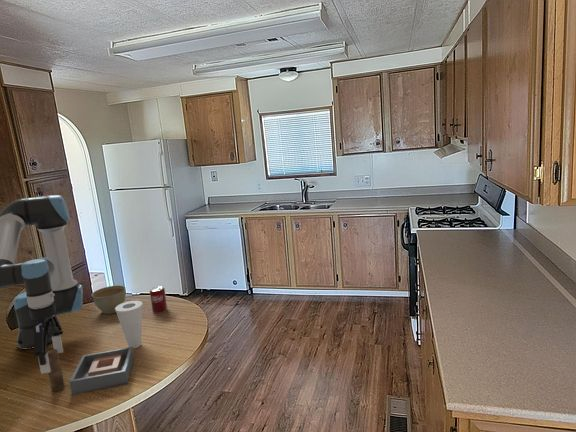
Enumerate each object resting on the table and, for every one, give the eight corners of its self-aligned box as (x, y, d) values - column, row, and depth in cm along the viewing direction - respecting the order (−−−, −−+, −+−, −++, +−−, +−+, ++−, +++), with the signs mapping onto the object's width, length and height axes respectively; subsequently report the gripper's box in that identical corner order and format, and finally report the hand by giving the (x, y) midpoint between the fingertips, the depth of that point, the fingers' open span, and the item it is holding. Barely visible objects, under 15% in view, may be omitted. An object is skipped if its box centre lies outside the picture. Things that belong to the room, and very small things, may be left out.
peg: (50, 393, 137) (42, 356, 134) (53, 386, 141) (46, 350, 138) (62, 390, 138) (55, 354, 135) (66, 384, 142) (59, 348, 139)
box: (71, 394, 135) (69, 381, 134) (85, 367, 152) (82, 355, 151) (127, 384, 139) (125, 371, 138) (134, 358, 156) (132, 346, 155)
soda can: (162, 314, 197) (159, 291, 194) (149, 313, 198) (146, 291, 196) (169, 308, 204) (167, 286, 201) (157, 307, 205) (154, 286, 203)
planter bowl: (101, 306, 213) (98, 287, 211) (132, 302, 214) (129, 284, 212) (89, 318, 197) (86, 298, 195) (123, 315, 199) (119, 295, 197)
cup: (122, 354, 160) (116, 313, 156) (120, 343, 169) (114, 304, 166) (149, 347, 164) (144, 306, 161) (146, 336, 174) (140, 298, 170)
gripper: (40, 317, 122) (52, 379, 126) (65, 291, 146) (74, 343, 150) (13, 321, 121) (26, 384, 124) (42, 294, 145) (52, 347, 148)
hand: (52, 362), depth 137 cm, fingers open, 13 cm apart
